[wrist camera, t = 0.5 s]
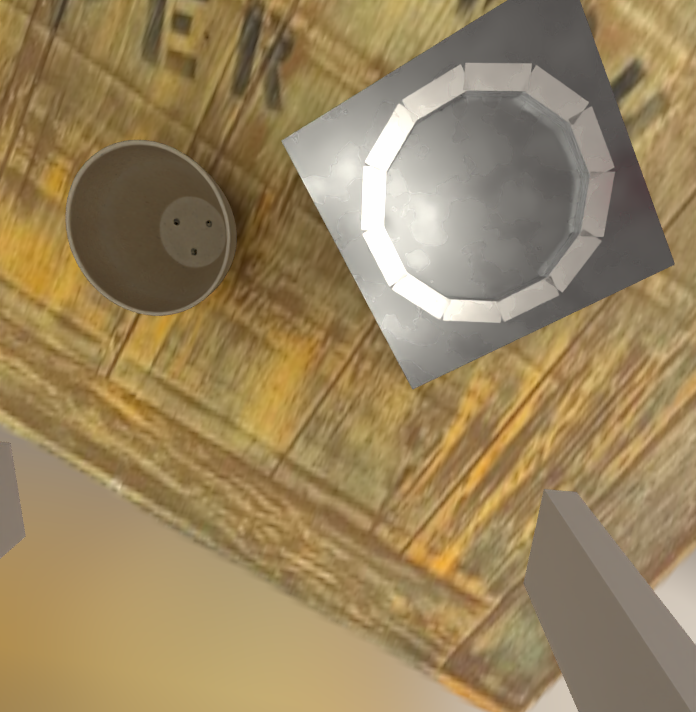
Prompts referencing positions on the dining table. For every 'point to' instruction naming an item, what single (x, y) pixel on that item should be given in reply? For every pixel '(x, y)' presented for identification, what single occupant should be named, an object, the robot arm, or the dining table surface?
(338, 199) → the ring plate
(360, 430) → the dining table surface
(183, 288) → the flower pot
